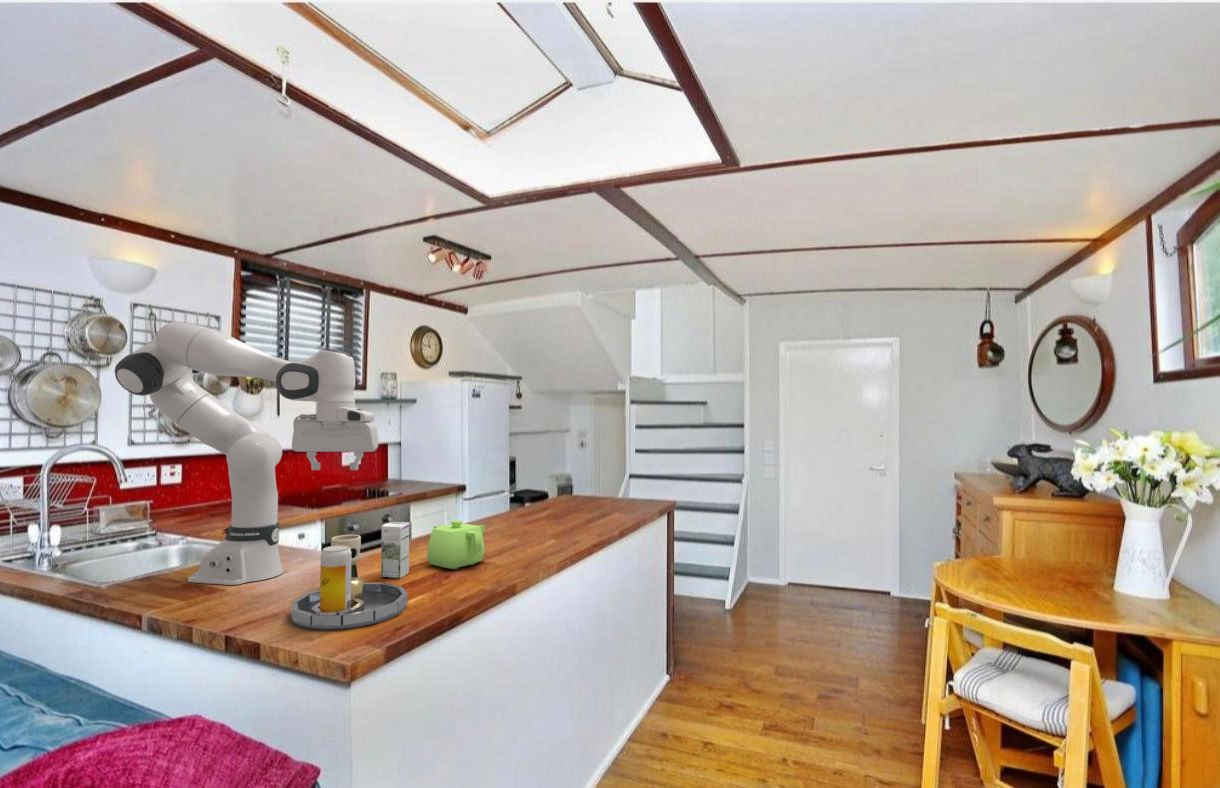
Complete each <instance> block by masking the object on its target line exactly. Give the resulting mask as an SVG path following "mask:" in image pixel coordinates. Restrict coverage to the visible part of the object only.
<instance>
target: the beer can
mask: <svg viewBox="0 0 1220 788" xmlns="http://www.w3.org/2000/svg"><path fill="white" fill-rule="evenodd" d="M319 579H320V581H319V582H320V583H319V586H320V587H319V590H320V609H321V610H322V611H340V610H344V609H348V608H351V550H350V547H349V546H344V545H338V546H331V545H330V546H326V547H324V548H323V549H322V551H321V554H320V578H319Z"/></svg>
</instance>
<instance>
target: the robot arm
mask: <svg viewBox="0 0 1220 788" xmlns="http://www.w3.org/2000/svg"><path fill="white" fill-rule="evenodd" d="M355 369H356V367H355V362H354V358H353V356H352V355H351V354H350V353H348V352H346V351H340V350H335V349H329V348H322V349H320V350H318V351H317V352H316V353H315V354H313V355H311V356H308V357H307V358H304V359H301V360H298V361H294V362H293V361H290V360H287V359H284V358H281V357H278V356H274V355H272V354H269V353H266V352H264V351H262V350H260V349H257V348H256V347H253V346H251V345H249V344H247V343H245V342H243V341H241V340H239V339H237V338H235V337H232V336H230V335H228V334H227V333H223V332H221V331H219V330H216V329H213V328H210V327H206V326H203V325H198V324H193V323H187V322H180V321H171V322H169V323H166V324H164V325H163V326H161V327H160V328H159V329H158V331H157V332H156V335H155V338H154V339H151V340H150V341H148V342H146V343H145V344H144V345H142V346H141V347H139V348H138V349H137V350H135V351H134V352H132V353H131V354H128V355H126V356H124V357H123V358H121V360H119V361H118V363H117V364H116V365H115V367H114V376H115V379H116V381H117V383H118V384H119V385H120V386H121V387H122V388H123V389H124V390H126V391H127V392H128V393H130V394H133V395H136V396H147V395H149V398H150V400H151V402H152V403H153V405H154V406H156V407H157V408H158V410H159V411H161V412H162V413H163V415H165V416H166V417H167V418H168V419H170V420H171V421H172V422H173V423H175V424H176V425H177V426H178V427H180V428H182V430H184V431H185V432H187V433H188V434H190V435H191V436H193V437H194V438H195V439H197V440H198V441H199V442H200V443H203V444H204V445H206V446H208V447H210V448H212V449H214V450H216V451H218V452H220V453H222V454H224V455H225V456H226V463H227V468H228V479H229V486H230V487H229V488H230V492H231V525H230V526H228V527H226V528H224V529H221V530H220V531H221V535H225V536H224V539H223V540H222V541H221V542H219V543H218V544H216V546H214V547H213V548H212V549H210V550H208V552H205V554H204V555H203V556H202V557H201V558H200V562H199V566H198V571H196V572H195V573H193V574H191V575H190V576H188V578H187V579H188V580H187V582H188V583H196V584H197V583H198V584H213V585H227V586H237V585H240V584H245V583H251V582H258V581H264V580H268V579H271V578H275V577H278V576H280V575H282V574H283V573H284V568H283V565H282V561H281V557H280V550H279V541H280V522H279V517H278V515H279V514H278V513H279V512H278V511H279V510H278V509H279V493H278V488H277V480H276V478H277V477H276V467H277V465H278V464H279V463H280V462H281V459H282V456H283V449H282V445H281V443H280V441H279V440H277V438H275V437H274V436H272V435H271V434H269V432H266V431H265V430H263V428H260V427H259V426H258V425H256V424H255V423H253V422H252V421H250V420H248V419H247V418H245V417H243V416H241V415H240V414H238V413H237V412H236V411H234V410H232V408H230V407H229V406H227V405H226V404H224V403H223V402H222V401H221V400H220V399H218V398H217V397H215V396H214V395H213V394H211V393H210V392H208V391H207V389H204V388H202V387H201V386H200V385H199V384H197V383H196V382H195V380H194V378H193V374H198V373H203V374H207V375H214V376H220V377H221V376H222V377H241V378H242V377H243V378H244V377H245V378H246V377H248V378H258V379H265V380H268V381H272V382H275V387H276V390H277V392H278V393H279V395H280V396H282V397H283V398H285V399H287V400H291V401H294V402H295V401H296V402H297V401H298V402H314V403H315V405H316V406H315V413H314V414H313V413H311V414H304V413H302V414H299V416H295V418H294V419H293V421H292V422H293V424H292V425H293V427H292V428H293V432H292V440H291V449H292V450H293V451H294V452H299V453H300V452H306V458H307V459H308V460H309V463H310V465H311V468H310V469H311V471H319V470H321V463H322V462H318V461H317V458H316V456H317V452H318V453H320V452H328V453H329V452H330V453H331V452H334V453H335V452H336V453H338V452H343V453H344V452H347V453H348V452H350V453H351V452H353V453H354V457H355V458H354V460H353V462H349V471H358V470H359V463H360V461H361V460H362V458H363V457H364V452H365V453H366V452H367V453H368V452H369V453H370V452H375V451H376V450H377V449H378V448H379V433H378V427H377V425H376V424H375V422H373V421H375V416H376V415H375V413H374V412H371V411H368V410H365V409H363V408H362V409H361V408H358V407H356V400H355V395H354V392H355V388H356V370H355Z"/></svg>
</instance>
